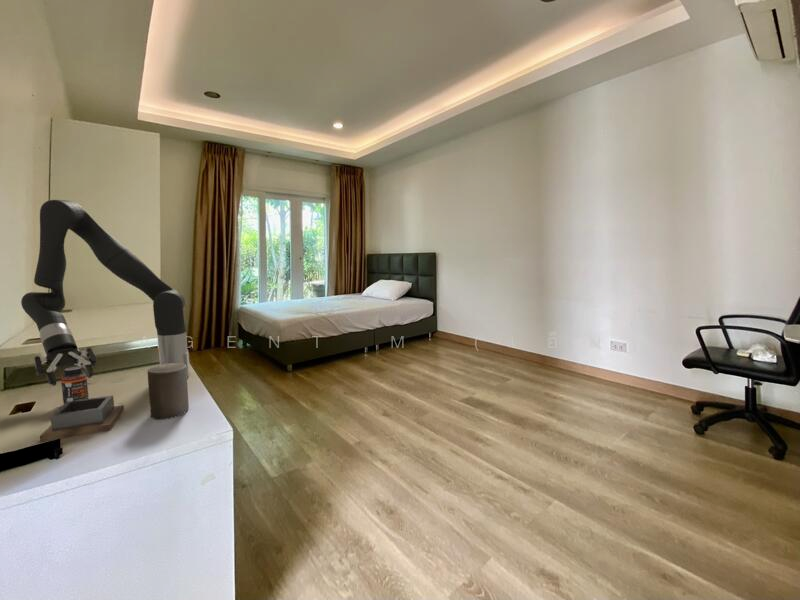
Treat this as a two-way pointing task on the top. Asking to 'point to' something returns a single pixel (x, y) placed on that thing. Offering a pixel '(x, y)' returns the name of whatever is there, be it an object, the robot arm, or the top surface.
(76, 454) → the top surface
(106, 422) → the socket board
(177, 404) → the pillar candle
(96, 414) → the grey square tray
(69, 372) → the supplement bottle
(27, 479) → the top surface
